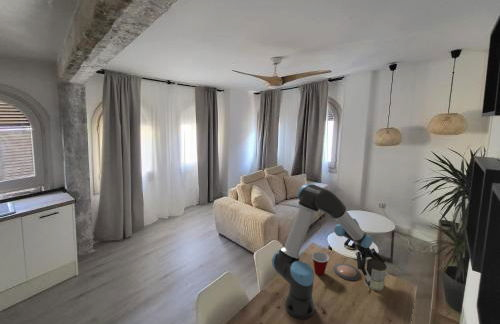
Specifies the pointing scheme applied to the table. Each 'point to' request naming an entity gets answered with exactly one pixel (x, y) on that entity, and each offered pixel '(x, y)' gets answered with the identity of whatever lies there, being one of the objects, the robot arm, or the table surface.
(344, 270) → the round plate
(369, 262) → the coffee can
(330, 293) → the table surface
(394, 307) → the table surface
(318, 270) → the plastic cup
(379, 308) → the table surface
